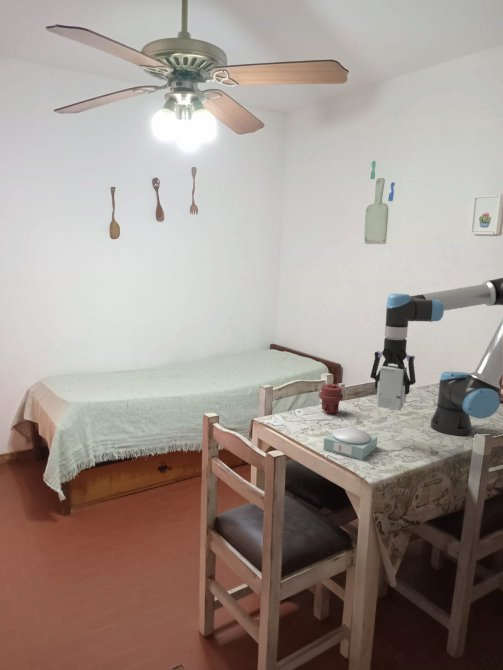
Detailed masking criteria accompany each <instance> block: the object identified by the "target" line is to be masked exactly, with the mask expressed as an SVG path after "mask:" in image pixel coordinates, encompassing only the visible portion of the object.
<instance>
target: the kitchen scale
mask: <svg viewBox="0 0 503 670" xmlns="http://www.w3.org/2000/svg"><path fill="white" fill-rule="evenodd" d="M378 437H379V436H377V435H373V434H369V432H367V431H364V430H361V429H358V428H351V427H338V428H336V429H334V430H332V432H331V433H330V434H328V435H327V436H325V437H324V438H323V451H324V450H325V451H328V452H332V453H336V454H339V455H342V456H346V457H350V458H353V459H356V460H360V461H363V460H364V459H365V458H366V457H367V456H369V455H370V454H371V453H372V452H373V451H374V450H375V449H376V448H377V446H378Z"/></svg>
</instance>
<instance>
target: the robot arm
mask: <svg viewBox="0 0 503 670" xmlns="http://www.w3.org/2000/svg"><path fill="white" fill-rule="evenodd" d="M481 305H485V306H488V307H492V306H503V277H500V278H494V279H490V280H485V281H483V282H482V284H477V285H469V286H464V287H459V288H452V289H447V290H446V289H445V290H440V291H434V292H429V293H422V294H416V295H410V294H407V293H390V294H389V295H388V296H387V299H386V309H385V311H386V313H385V327H384V336H385V337H384V340H383V342H384V343H383V349H382V351H379V350H377V351H375V352H374V361H373V364H372V369H371V372H370V378H371V379H373V380H375V381H374V388H375V389H374V390H377V391H376V392H377V393H376V400H378V393H379V382H380V371H381V368H380V369H379V365H380V362H381V358H384V359H385V360H384V361H383V363H382V365H381V366H388V365H394V366H398V367H399V369H405V362H404V360H406V361H407V362H408V363H407V364H408V365H407V366H408V372H406V370H405V371H404V377H403V380H404V383H405V384H404V385H403V388H402V400H401V403H403V405H404V404H405V403H406V401H407V395H409V393H410V390H411V389H410V387H411V386H413V385H415V384H416V383H417V381H416V374H415V372H416V371H415V364H414V363H415V358H416V356H414V355H409V354H408V353H407V343H408V341H407V337H408V330H409V329H408V328H409V322H430V323H432V322H439V321H441V319H442V318H443V317H444V311H451V310H456V309H462V308H467V307H475V306H481ZM382 356H383V357H382ZM378 369H379V370H378ZM502 376H503V318H502V319H501V321H500V322H499V325H498V326H497V328H496V331H495V332H494V334H493V336H492V338H491V340H490V341H489V344H488V346H487V348H486V349H485V351H484V353H483V355H482V357H481V359H480V361H479V363H478V365H477V367H476V369H475V371H473V372H463V371H443V372H442V373H441V375H440V378H439V387H438V398H437V403H436V404H437V406H436V409H435V411H434V413H433V415H432V417H431V420H430V428H431V429H433V430H435V431H436V432H440V433H442V434H446V435H453V436H467V435H470V434H471V433H472V427H473V426H472V422H471V417H473V418H475V419H486V418H490V417H491V416H493V415H494V414H495V413H496V412H497V411H498V410H499V407H500V405H501V400H500V396H499V395H500V394H499V393H500V391H501V385H500V380H501V379H502Z"/></svg>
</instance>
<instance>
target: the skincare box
mask: <svg viewBox="0 0 503 670" xmlns="http://www.w3.org/2000/svg"><path fill="white" fill-rule="evenodd" d="M380 369H381V371H380V370H379V371H380V382H379V393H378V399H377V405H376V406H377V408H383V409H387V410H396V411H400V410H402V409H403V407H404V404H403V403H401V400H402V388H403V385H404V384H405V383H404V380H403V377H404V371H405V370H406V372H407V371H408V369H407V367H405V369H399V367H398V365H395V364H388V366H382V365H381V366H380ZM407 373H408V372H407Z"/></svg>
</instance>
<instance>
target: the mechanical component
mask: <svg viewBox="0 0 503 670" xmlns="http://www.w3.org/2000/svg"><path fill="white" fill-rule="evenodd" d="M342 389H343V388H342V387H341V386H339V385H337V384H336V383H326V384H324V385H322V386H321V391H320V392H319V394H318V397H319V398H320V400H321V401H322V402H321V410H323V412H325V415H326V414H327V415H328V416H329V415H332V414H333V415H334V414H338V412H339V409H340V408H339V405H340V402H341V401H342V400H343V399H344V395H343V393H342Z"/></svg>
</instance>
